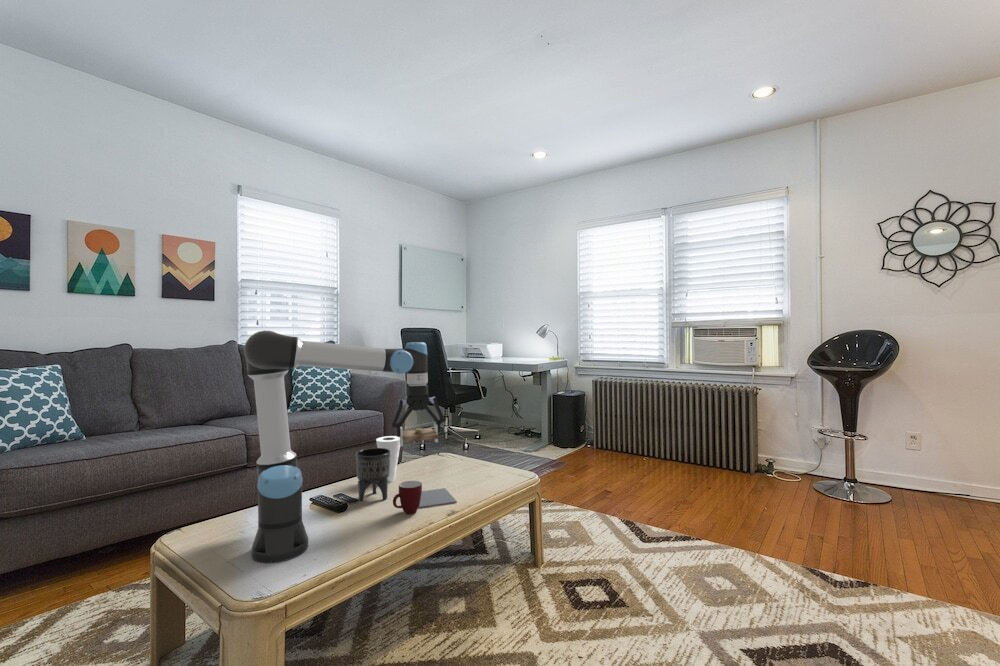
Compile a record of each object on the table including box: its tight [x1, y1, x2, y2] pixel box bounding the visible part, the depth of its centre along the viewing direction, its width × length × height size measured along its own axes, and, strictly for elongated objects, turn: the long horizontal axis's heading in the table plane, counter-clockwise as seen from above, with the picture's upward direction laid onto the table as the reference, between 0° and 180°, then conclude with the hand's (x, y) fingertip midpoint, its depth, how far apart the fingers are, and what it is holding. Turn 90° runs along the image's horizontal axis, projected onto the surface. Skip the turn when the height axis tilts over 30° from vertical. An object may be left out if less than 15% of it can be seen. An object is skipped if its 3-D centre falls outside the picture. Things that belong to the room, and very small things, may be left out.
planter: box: [355, 447, 390, 503], centre depth 179 cm, size 13×13×18 cm
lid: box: [403, 427, 440, 443], centre depth 169 cm, size 12×12×3 cm
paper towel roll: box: [375, 435, 401, 483], centre depth 200 cm, size 11×11×18 cm
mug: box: [392, 480, 423, 515], centre depth 163 cm, size 10×8×10 cm
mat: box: [418, 487, 458, 509], centre depth 178 cm, size 14×16×1 cm
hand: (418, 443), depth 169 cm, fingers closed on lid, 12 cm apart
